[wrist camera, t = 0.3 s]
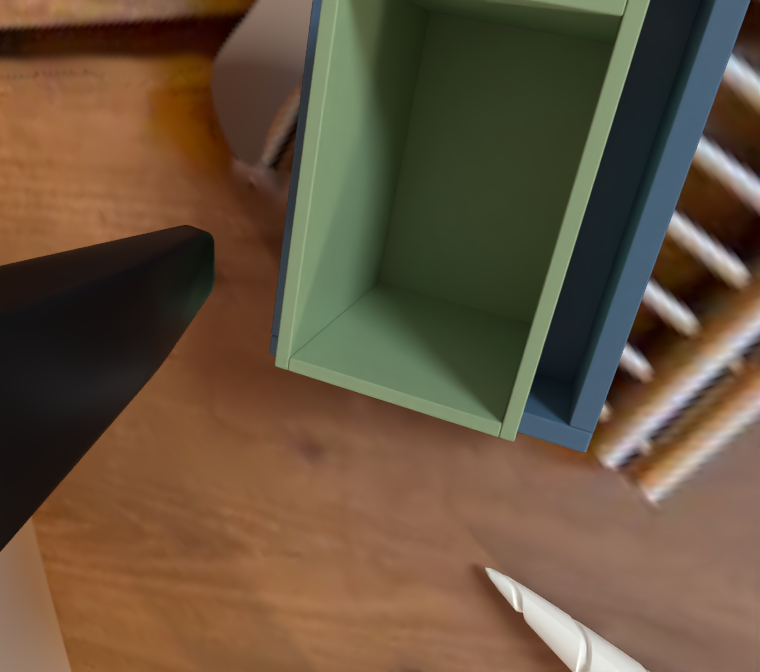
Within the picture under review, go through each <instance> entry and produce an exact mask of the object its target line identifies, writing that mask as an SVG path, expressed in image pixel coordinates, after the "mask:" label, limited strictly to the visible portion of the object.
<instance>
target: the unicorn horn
mask: <svg viewBox="0 0 760 672" xmlns="http://www.w3.org/2000/svg"><path fill="white" fill-rule="evenodd" d="M485 570H486V573H487V575H488V576H489V578H490V579H491V580H492V582H493V583H494V585H495V586H496V587H497V589H498V590H499V591H500V592H501V594H502V595H503V596H504V597H505V598H506V599H507V601H508V602H509V603H510V604H511V605H512V607H513V608H514V609H515V610H516V611H518V612H523V615H524V619H525V621H526V622H527V623H528V624H529V626H530V627H531V628H532V629H533V630H534V631H535V632H536V633H537V634H538V635H539V636H540V638H541V639H542V640H543V641H544V642H545V643H546V644H547V645H548V646H549V647H550V648H551V649H552V650H553V652H554V653H555V654H556V655H557V656H558V657H559V658H560V659H561V660H562V661H563V662H564V663H565V664H566V665H567V666H568V668H569V669H570V670H571V671H572V672H650V671H649V670H647V669H645V668H644V667H643V666H642V665H641V664H640V663H638V662H637V661H635V660H634V659H632V658H631V657H630V656H628V655H627V654H625V653H624V652H622V651H621V650H619V649H618V648H617V647H615V646H614V645H612V644H611V643H609V642H608V641H606V640H605V639H603V638H602V637H601V636H599V635H598V634H596V633H595V632H593V631H592V630H590V629H589V628H587V627H586V626H584V625H583V624H581V623H580V622H578V621H576V620H575V619H572V618H571V617H570V616H569V615H568V614H567V613H565V612H564V611H562V610H561V609H559V608H558V607H556V606H555V605H553V604H551V603H550V602H548V601H547V600H545V599H544V598H542V597H541V596H539V595H537V594H536V593H534V592H533V591H531V590H530V589H528V588H526V587H525V586H523V585H521V584H520V583H518V582H516V581H515V580H513V579H511V578H510V577H508V576H506V575H502V574H501V573H499V572H497V571H496V570H494V569H491V568H485Z"/></svg>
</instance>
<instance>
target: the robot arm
mask: <svg viewBox="0 0 760 672" xmlns="http://www.w3.org/2000/svg"><path fill="white" fill-rule="evenodd" d="M214 281H215V251H214V239H213V237H212V235H211V234H210V233H208V232H206V231H203V230H201V229H198V228H195V227H192V226H189V225H182V226H178V227H173V228H169V229H164V230H160V231H155V232H151V233H146V234H142V235H137V236H133V237H128V238H124V239H119V240H115V241H110V242H106V243H101V244H97V245H92V246H88V247H83V248H78V249H74V250H69V251H65V252H60V253H56V254H51V255H47V256H42V257H38V258H33V259H29V260H24V261H20V262H15V263H11V264H6V265H2V266H0V552H1V550H2V549H3V548H4V547H5V546H6V545H7V544H8V542H9V541H10V540H11V539H12V538H13V537H14V535H15V534H16V533H17V532H18V531H19V529H21V527H22V526H23V525H24V524H25V523H26V522H27V521H28V519H29V518H30V517H31V516H32V515H33V514H34V512H35V511H36V510H37V509H38V508H39V507H40V506H41V504H42V503H43V502H44V501H45V500H46V499H47V497H48V496H49V495H50V494H51V493H52V492H53V491H54V489H55V488H56V487H57V486H58V485H59V484H60V482H61V481H62V480H63V479H64V478H65V477H66V476H67V474H68V473H69V472H70V471H71V470H72V469H73V467H74V466H75V465H76V464H77V463H78V462H79V461H80V459H81V458H82V457H83V456H84V455H85V454H86V452H87V451H88V450H89V449H90V448H91V447H92V445H93V444H94V443H95V442H96V441H97V440H98V439H99V437H100V436H101V435H102V434H103V433H104V432H105V430H106V429H107V428H108V427H109V426H110V425H111V424H112V422H113V421H114V420H115V419H116V418H117V417H118V415H119V414H120V413H121V412H122V411H123V410H124V409H125V407H126V406H127V405H128V404H129V403H130V402H131V400H132V399H133V398H134V397H135V396H136V395H137V394H138V392H139V391H140V390H141V389H142V388H143V387H144V385H145V384H146V383H147V382H148V381H149V380H150V378H151V377H152V376H153V375H154V374H155V372H156V371H157V370H158V369H159V367H160V366H161V365H162V363H163V362H164V361H165V359H166V358H167V357H168V355H169V354H170V352H171V351H172V349H173V348H174V346H175V345H176V343H177V342H178V340H179V339H180V337H181V336H182V335H183V333H184V332H185V330H186V329H187V327H188V326H189V324H190V323H191V321H192V320H193V318H194V317H195V315H196V314H197V313H198V311H199V310H200V308H201V307H202V305H203V304H204V302H205V301H206V299H207V298H208V296H209V295H210V293H211V291H212V289H213V286H214Z"/></svg>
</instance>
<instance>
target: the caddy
mask: <svg viewBox="0 0 760 672" xmlns="http://www.w3.org/2000/svg"><path fill="white" fill-rule="evenodd" d="M649 2H650V0H322V3H321V10H320V18H319V26H318V34H317V41H316V49H315V57H314V64H313V72H312V80H311V88H310V95H309V103H308V111H307V119H306V126H305V134H304V142H303V149H302V157H301V165H300V173H299V180H298V188H297V196H296V204H295V211H294V219H293V227H292V235H291V242H290V250H289V258H288V265H287V273H286V281H285V289H284V296H283V304H282V312H281V320H280V327H279V335H278V343H277V350H276V358H275V366H276V367H279V368H283V369H286V370H287V369H288V370H289V371H292V372H295V373H298V374H301V375H305V376H308V377H311V378H314V379H317V380H320V381H323V382H326V383H330V384H333V385H336V386H339V387H342V388H345V389H348V390H352V391H355V392H358V393H361V394H364V395H367V396H370V397H374V398H377V399H380V400H383V401H386V402H389V403H392V404H396V405H399V406H402V407H405V408H408V409H411V410H414V411H418V412H421V413H424V414H427V415H430V416H433V417H436V418H440V419H443V420H446V421H449V422H452V423H455V424H458V425H462V426H465V427H468V428H471V429H474V430H477V431H480V432H484V433H487V434H490V435H493V436H496V437H498V436H499V437H500V438H502V439H505V440H509V441H512V442H513V441H514V440H515V437H516V434H517V431H518V427H519V424H520V421H521V418H522V414H523V411H524V408H525V405H526V401H527V398H528V395H529V392H530V388H531V385H532V382H533V379H534V375H535V372H536V369H537V366H538V362H539V359H540V356H541V353H542V349H543V346H544V343H545V340H546V336H547V333H548V330H549V327H550V324H551V320H552V317H553V314H554V311H555V307H556V304H557V301H558V298H559V294H560V291H561V288H562V285H563V281H564V278H565V275H566V272H567V268H568V265H569V262H570V259H571V255H572V252H573V249H574V246H575V242H576V239H577V236H578V233H579V229H580V226H581V223H582V220H583V216H584V213H585V210H586V207H587V203H588V200H589V197H590V194H591V190H592V187H593V184H594V181H595V177H596V174H597V171H598V168H599V164H600V161H601V158H602V155H603V151H604V148H605V145H606V142H607V138H608V135H609V132H610V129H611V126H612V122H613V119H614V116H615V113H616V109H617V106H618V103H619V100H620V96H621V93H622V90H623V87H624V83H625V80H626V77H627V74H628V70H629V67H630V64H631V61H632V57H633V54H634V51H635V48H636V44H637V41H638V38H639V35H640V31H641V28H642V25H643V22H644V18H645V15H646V12H647V9H648V5H649Z"/></svg>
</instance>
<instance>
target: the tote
mask: <svg viewBox="0 0 760 672" xmlns="http://www.w3.org/2000/svg"><path fill="white" fill-rule="evenodd" d="M749 2H750V0H650V2H649V5H648V9H647V12H646V15H645V18H644V22H643V25H642V28H641V31H640V35H639V38H638V41H637V44H636V48H635V51H634V54H633V57H632V61H631V64H630V67H629V70H628V74H627V77H626V80H625V83H624V87H623V90H622V93H621V96H620V100H619V103H618V106H617V109H616V113H615V116H614V119H613V122H612V126H611V129H610V132H609V135H608V138H607V142H606V145H605V148H604V151H603V155H602V158H601V161H600V164H599V168H598V171H597V174H596V177H595V181H594V184H593V187H592V190H591V194H590V197H589V200H588V203H587V207H586V210H585V213H584V216H583V220H582V223H581V226H580V229H579V233H578V236H577V239H576V242H575V246H574V249H573V252H572V255H571V259H570V262H569V265H568V268H567V272H566V275H565V278H564V281H563V285H562V288H561V291H560V294H559V298H558V301H557V304H556V307H555V311H554V314H553V317H552V320H551V324H550V327H549V330H548V333H547V336H546V340H545V343H544V346H543V349H542V353H541V356H540V359H539V362H538V366H537V369H536V372H535V375H534V379H533V382H532V385H531V388H530V392H529V395H528V398H527V401H526V405H525V408H524V411H523V414H522V418H521V421H520V424H519V427H518V431H517V432H519V433H522V434H526V435H529V436H532V437H535V438H538V439H541V440H545V441H548V442H551V443H554V444H557V445H561V446H564V447H567V448H570V449H573V450H576V451H580V452H583V453H585V452H586V451H587V449H588V446H589V443H590V440H591V438H592V433H593V432H594V430H595V427H596V424H597V422H598V419H599V416H600V413H601V410H602V408H603V405H604V402H605V399H606V397H607V394H608V391H609V388H610V386H611V383H612V380H613V377H614V375H615V372H616V369H617V366H618V364H619V361H620V358H621V355H622V353H623V350H624V347H625V344H626V342H627V339H628V336H629V333H630V331H631V328H632V325H633V322H634V319H635V317H636V314H637V311H638V308H639V306H640V303H641V300H642V297H643V295H644V292H645V289H646V286H647V284H648V281H649V278H650V275H651V273H652V270H653V267H654V264H655V262H656V259H657V256H658V253H659V251H660V248H661V245H662V242H663V240H664V237H665V234H666V231H667V228H668V226H669V223H670V220H671V217H672V215H673V212H674V209H675V206H676V204H677V201H678V198H679V195H680V193H681V190H682V187H683V184H684V182H685V179H686V176H687V173H688V171H689V168H690V165H691V162H692V160H693V157H694V154H695V151H696V149H697V146H698V143H699V140H700V137H701V135H702V132H703V129H704V126H705V124H706V121H707V118H708V115H709V113H710V110H711V107H712V104H713V102H714V99H715V96H716V93H717V91H718V88H719V85H720V82H721V80H722V77H723V74H724V71H725V69H726V66H727V63H728V60H729V58H730V55H731V52H732V49H733V46H734V44H735V41H736V38H737V35H738V33H739V30H740V27H741V24H742V22H743V19H744V16H745V13H746V11H747V8H748V5H749ZM321 3H322V0H313V3H312V11H311V19H310V27H309V35H308V43H307V51H306V59H305V68H304V75H303V83H302V91H301V99H300V107H299V115H298V123H297V131H296V139H295V147H294V155H293V163H292V171H291V179H290V187H289V195H288V203H287V211H286V220H285V228H284V236H283V244H282V252H281V260H280V268H279V276H278V284H277V292H276V300H275V308H274V316H273V324H272V332H271V334H273V335H272V336H271V343H270V352H269V353H270V354H271V355H275V356H276V350H277V343H278V335H279V327H280V320H281V312H282V304H283V296H284V289H285V281H286V273H287V265H288V258H289V250H290V242H291V235H292V227H293V219H294V211H295V204H296V196H297V188H298V180H299V173H300V165H301V157H302V149H303V142H304V134H305V126H306V119H307V111H308V103H309V95H310V88H311V80H312V72H313V64H314V57H315V49H316V41H317V34H318V26H319V18H320V10H321Z"/></svg>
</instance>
